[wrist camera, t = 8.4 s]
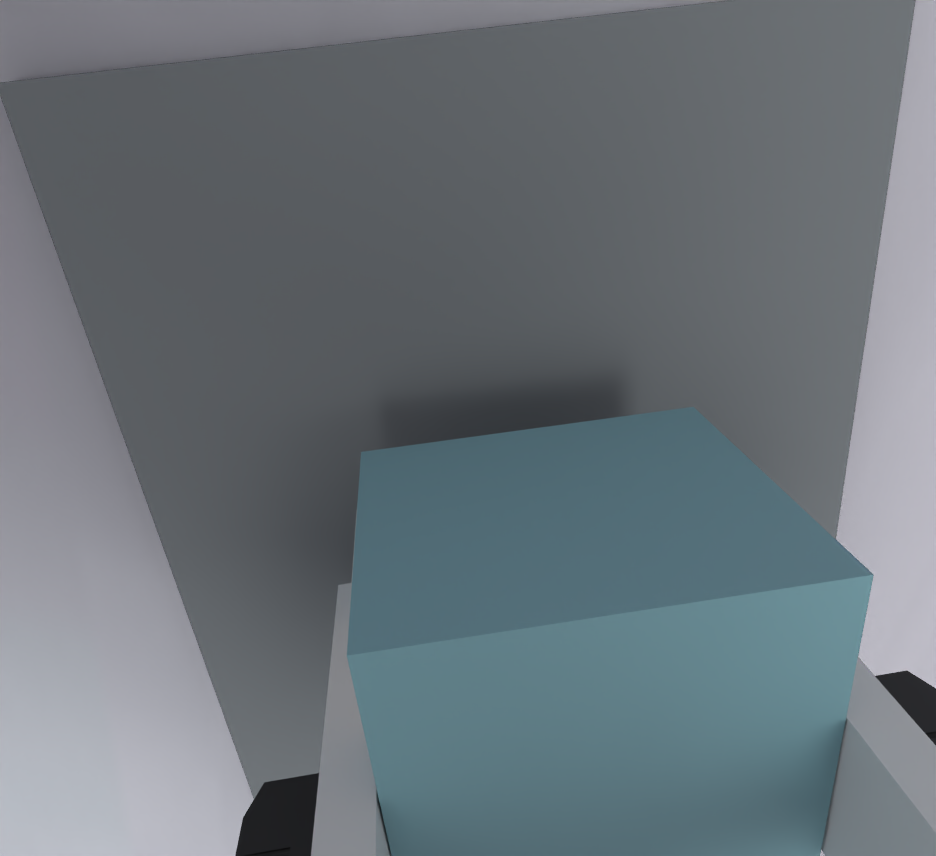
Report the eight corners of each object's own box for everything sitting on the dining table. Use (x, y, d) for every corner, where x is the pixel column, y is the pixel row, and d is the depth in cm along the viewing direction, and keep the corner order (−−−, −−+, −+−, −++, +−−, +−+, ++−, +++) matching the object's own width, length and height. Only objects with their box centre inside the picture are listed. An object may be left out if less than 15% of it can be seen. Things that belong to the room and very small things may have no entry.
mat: (13, 84, 12) (-4, 82, 11) (895, -15, 13) (918, -21, 12) (275, 831, 20) (272, 851, 20) (792, 741, 21) (803, 757, 21)
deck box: (427, 827, 16) (444, 1102, 12) (358, 452, 12) (341, 656, 7) (677, 784, 16) (788, 1036, 12) (695, 405, 12) (877, 573, 8)
